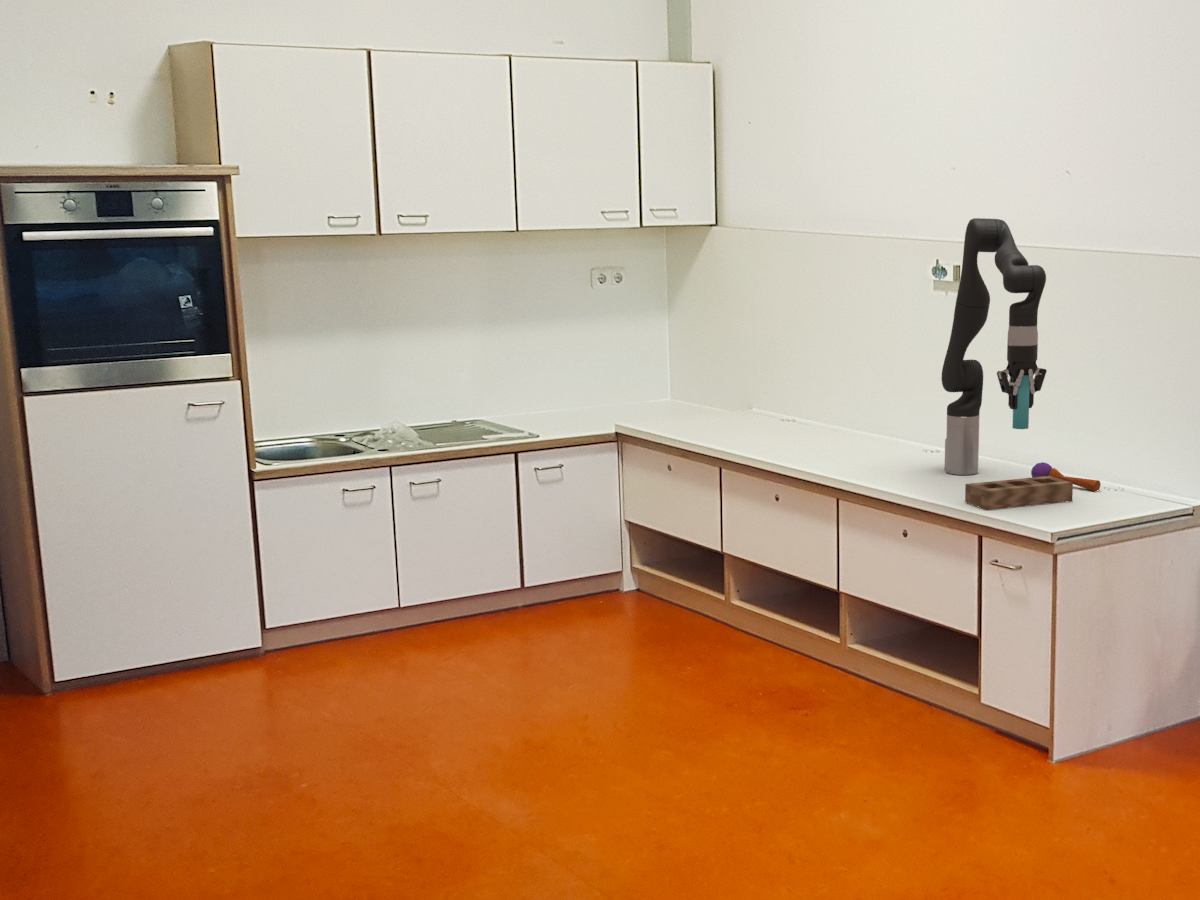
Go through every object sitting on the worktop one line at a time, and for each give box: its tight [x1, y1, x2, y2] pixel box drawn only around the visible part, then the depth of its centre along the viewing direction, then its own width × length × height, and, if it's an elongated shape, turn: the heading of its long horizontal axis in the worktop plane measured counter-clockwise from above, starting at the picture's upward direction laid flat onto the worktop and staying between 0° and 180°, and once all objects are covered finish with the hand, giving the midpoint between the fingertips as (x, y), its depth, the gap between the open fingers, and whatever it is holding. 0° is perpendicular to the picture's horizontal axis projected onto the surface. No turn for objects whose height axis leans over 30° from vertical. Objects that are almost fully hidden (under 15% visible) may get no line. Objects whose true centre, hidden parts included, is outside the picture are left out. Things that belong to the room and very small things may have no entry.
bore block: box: [964, 476, 1074, 511], centre depth 354 cm, size 26×10×5 cm, turn 107°
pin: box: [1012, 375, 1030, 430], centre depth 349 cm, size 4×4×14 cm
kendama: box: [1030, 462, 1101, 492], centre depth 372 cm, size 6×6×20 cm
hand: (1020, 408), depth 350 cm, fingers closed on pin, 4 cm apart
